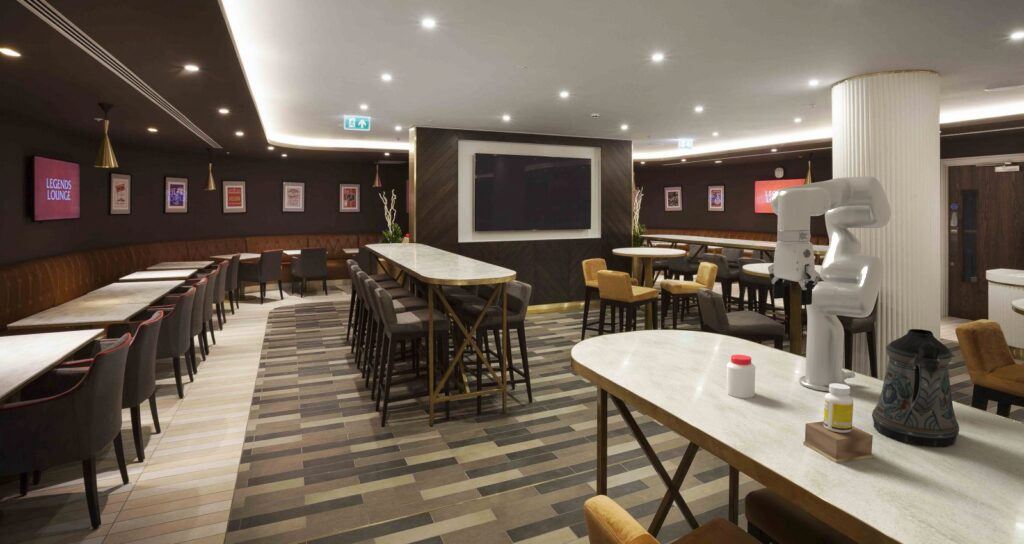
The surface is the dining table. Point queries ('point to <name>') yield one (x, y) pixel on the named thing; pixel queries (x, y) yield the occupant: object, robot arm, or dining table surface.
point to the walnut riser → (838, 443)
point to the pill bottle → (740, 377)
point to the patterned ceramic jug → (917, 393)
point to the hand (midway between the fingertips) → (791, 301)
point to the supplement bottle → (838, 409)
